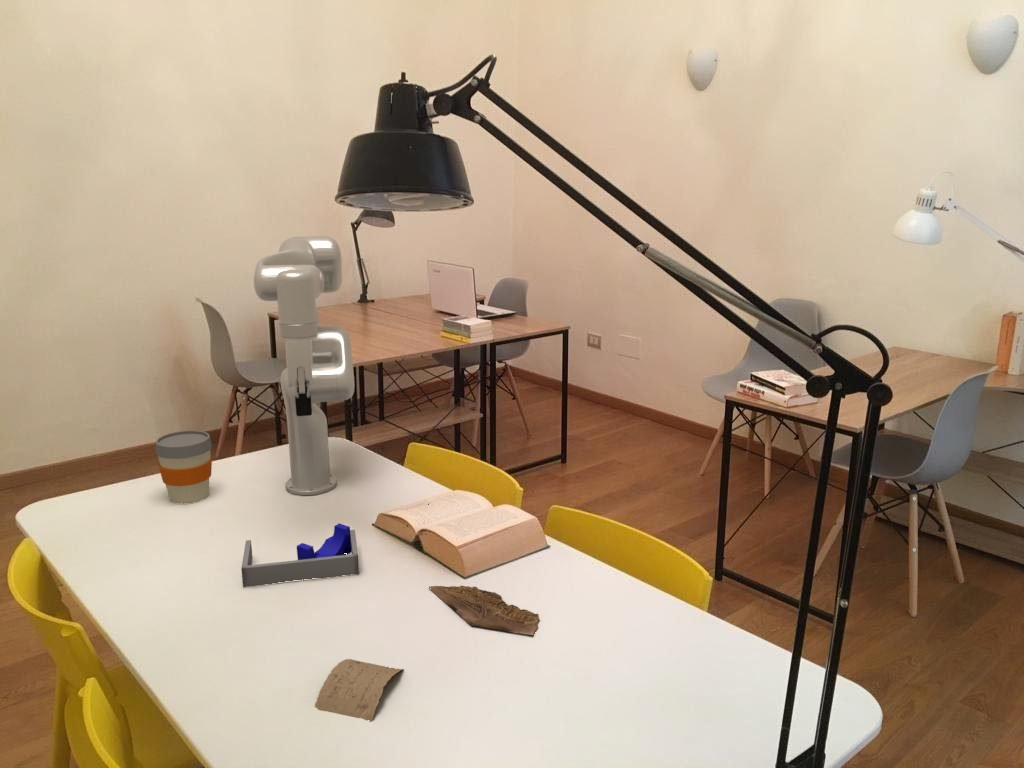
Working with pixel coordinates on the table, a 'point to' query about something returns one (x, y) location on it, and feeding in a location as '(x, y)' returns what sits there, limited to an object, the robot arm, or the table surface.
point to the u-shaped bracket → (298, 567)
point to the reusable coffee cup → (185, 465)
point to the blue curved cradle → (328, 545)
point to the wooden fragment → (487, 609)
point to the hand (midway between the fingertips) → (304, 414)
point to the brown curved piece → (354, 688)
